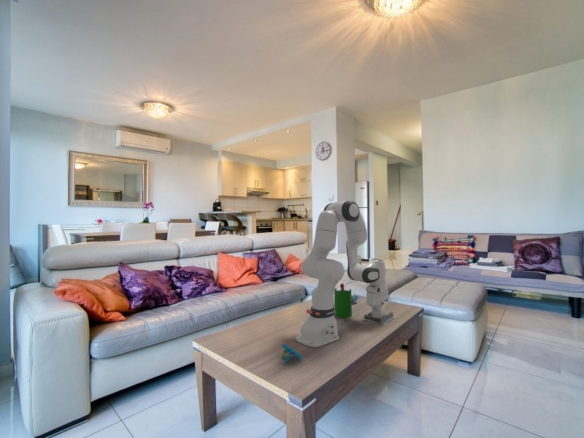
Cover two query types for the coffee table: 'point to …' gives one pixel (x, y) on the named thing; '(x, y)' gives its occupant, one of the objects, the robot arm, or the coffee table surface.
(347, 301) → the motor
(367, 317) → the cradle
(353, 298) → the owl figurine
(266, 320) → the coffee table surface
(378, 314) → the cream rectangular block
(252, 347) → the coffee table surface
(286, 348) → the blue green branched frame
